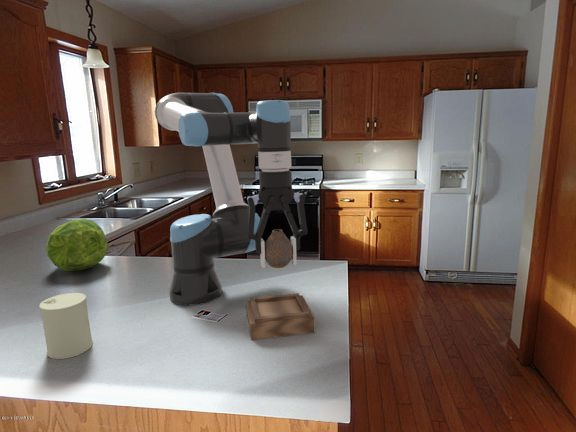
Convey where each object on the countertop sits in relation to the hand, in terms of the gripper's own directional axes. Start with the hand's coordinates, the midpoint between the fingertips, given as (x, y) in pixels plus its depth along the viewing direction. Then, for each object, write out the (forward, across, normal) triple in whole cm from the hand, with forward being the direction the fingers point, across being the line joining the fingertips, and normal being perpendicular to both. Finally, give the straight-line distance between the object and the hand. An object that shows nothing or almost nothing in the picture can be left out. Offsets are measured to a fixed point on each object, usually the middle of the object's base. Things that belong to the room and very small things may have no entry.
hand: (278, 264), depth 97 cm
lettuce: (+15, -64, +60) cm, 89 cm away
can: (+15, -48, 0) cm, 51 cm away
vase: (0, 0, 0) cm, 0 cm away
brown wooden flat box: (+15, -1, -1) cm, 15 cm away
